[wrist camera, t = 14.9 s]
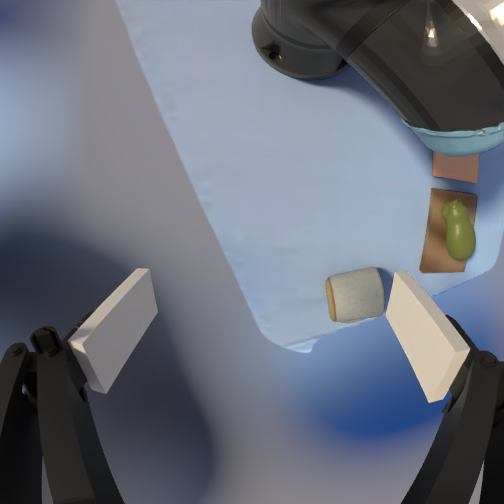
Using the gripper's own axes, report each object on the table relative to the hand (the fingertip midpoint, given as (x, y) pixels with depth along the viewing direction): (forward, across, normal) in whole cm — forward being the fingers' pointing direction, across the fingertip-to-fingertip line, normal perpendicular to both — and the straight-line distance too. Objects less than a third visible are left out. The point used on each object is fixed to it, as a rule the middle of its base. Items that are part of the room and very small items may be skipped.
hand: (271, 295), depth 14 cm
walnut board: (+27, +30, -4) cm, 40 cm away
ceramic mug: (+27, +13, -15) cm, 33 cm away
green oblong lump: (+26, +30, -2) cm, 39 cm away
